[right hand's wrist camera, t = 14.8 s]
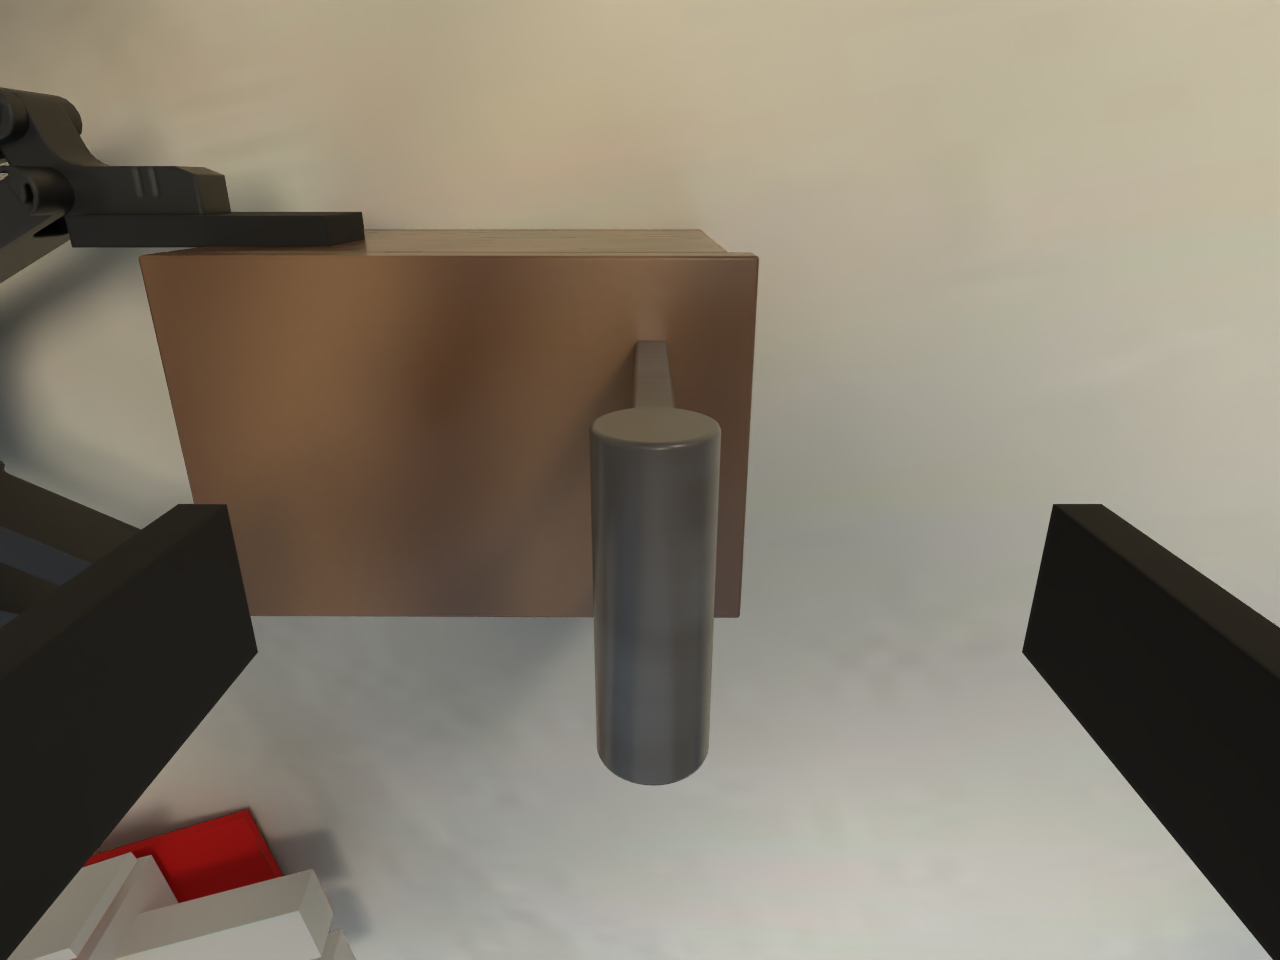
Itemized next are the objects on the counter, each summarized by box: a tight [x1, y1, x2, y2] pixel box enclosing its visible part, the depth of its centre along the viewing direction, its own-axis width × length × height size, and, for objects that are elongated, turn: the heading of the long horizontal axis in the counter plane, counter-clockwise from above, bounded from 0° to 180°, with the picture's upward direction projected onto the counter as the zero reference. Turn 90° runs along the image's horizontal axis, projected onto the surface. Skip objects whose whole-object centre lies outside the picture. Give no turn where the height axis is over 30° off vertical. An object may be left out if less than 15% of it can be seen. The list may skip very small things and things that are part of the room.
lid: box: [139, 252, 759, 785], centre depth 15 cm, size 14×9×9 cm, turn 90°
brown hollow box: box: [170, 230, 728, 253], centre depth 24 cm, size 13×9×10 cm
